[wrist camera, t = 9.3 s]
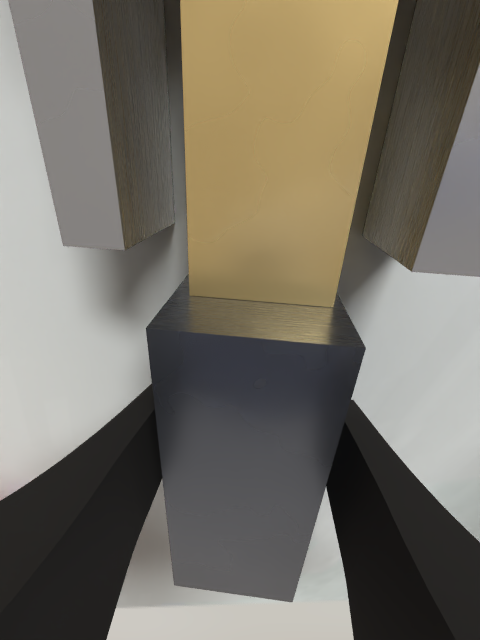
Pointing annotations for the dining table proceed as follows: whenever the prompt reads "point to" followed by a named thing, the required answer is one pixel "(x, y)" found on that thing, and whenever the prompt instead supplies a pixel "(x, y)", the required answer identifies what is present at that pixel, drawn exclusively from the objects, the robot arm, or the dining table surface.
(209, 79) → the tan blocky piece
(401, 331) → the dining table surface
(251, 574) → the tall gray pillar
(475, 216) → the sleeve
